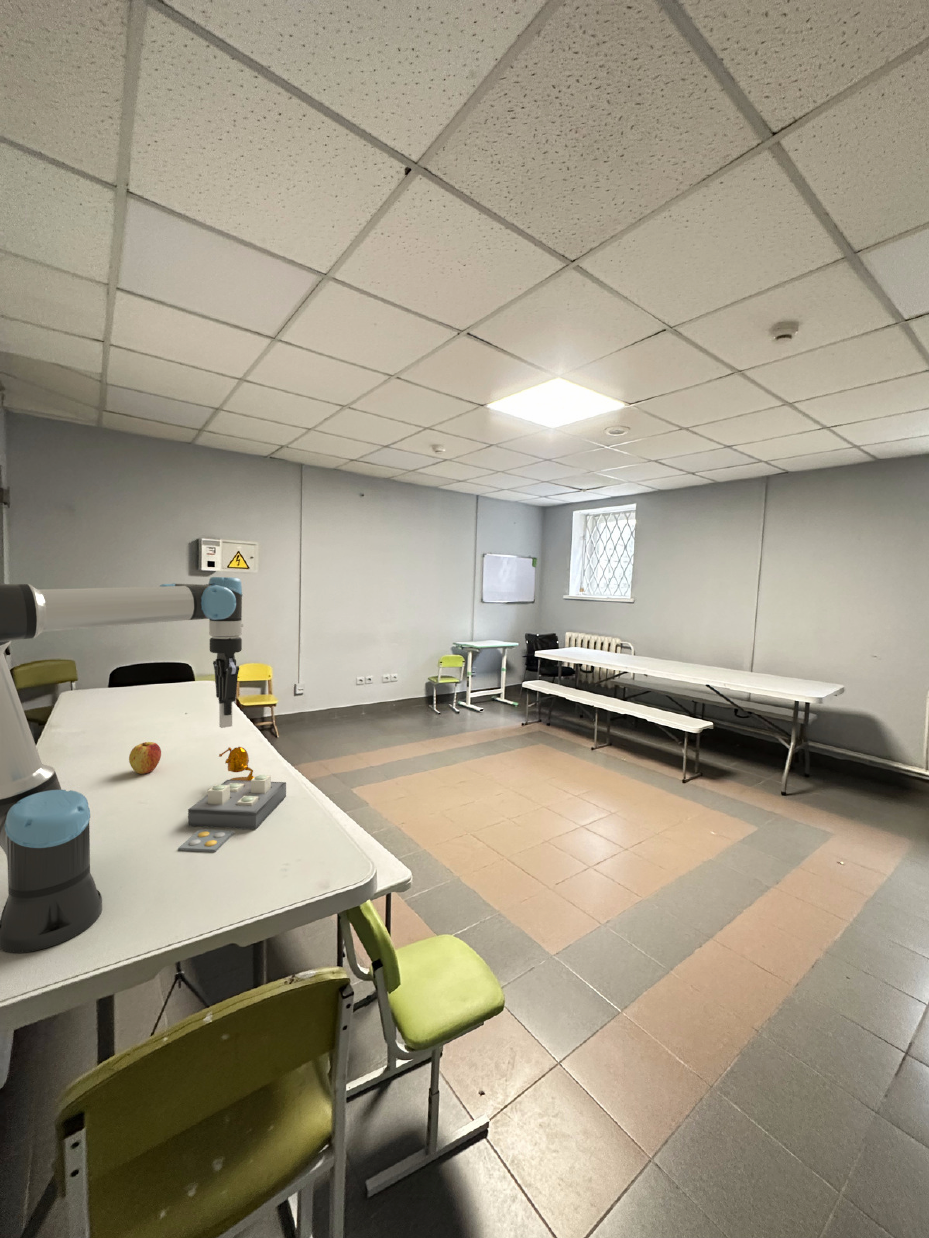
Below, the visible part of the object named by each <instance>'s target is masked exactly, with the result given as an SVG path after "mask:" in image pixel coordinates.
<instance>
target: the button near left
mask: <svg viewBox="0 0 929 1238" xmlns="http://www.w3.org/2000/svg"><path fill="white" fill-rule="evenodd" d="M207 795H208V804H219V805H223V804H225V803H226V802H227V801H228V800H229V799H230V785H221V784H214V785H213V786H212V787H211V788H209V789H208V790H207Z"/></svg>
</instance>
